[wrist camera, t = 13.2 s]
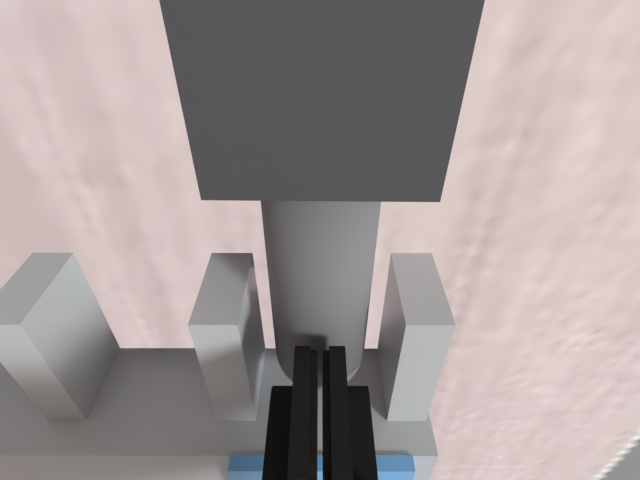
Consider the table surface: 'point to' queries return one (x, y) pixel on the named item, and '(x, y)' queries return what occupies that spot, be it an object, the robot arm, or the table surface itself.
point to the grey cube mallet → (321, 136)
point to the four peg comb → (195, 379)
